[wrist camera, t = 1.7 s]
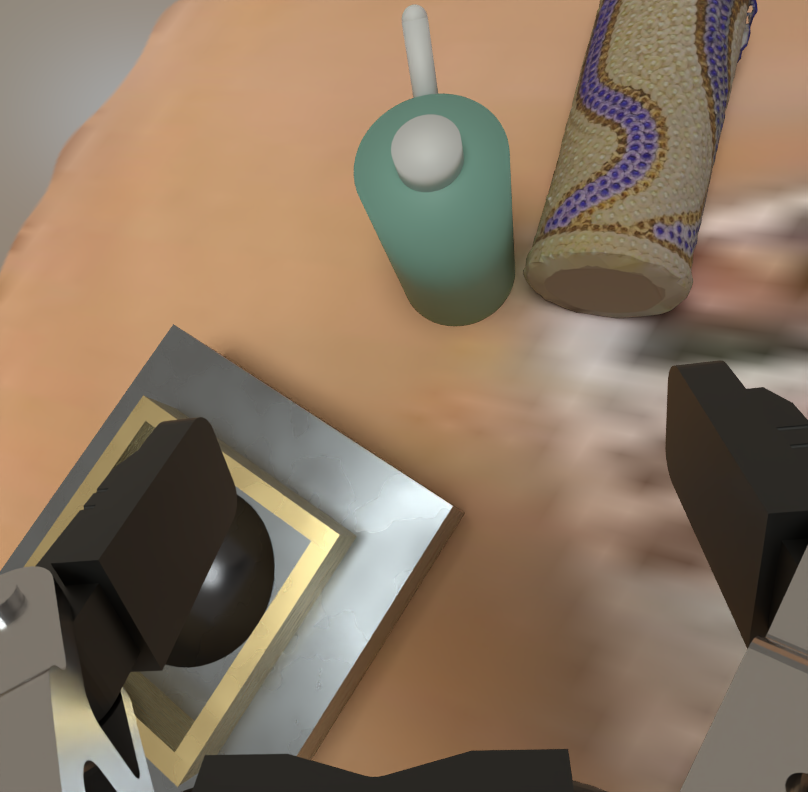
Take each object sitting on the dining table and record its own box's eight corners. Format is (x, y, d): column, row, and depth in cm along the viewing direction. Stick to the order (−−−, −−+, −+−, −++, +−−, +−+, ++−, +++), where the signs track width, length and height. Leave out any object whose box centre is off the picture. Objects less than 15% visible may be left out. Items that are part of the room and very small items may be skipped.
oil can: (520, 318, 32) (517, 192, 21) (406, 332, 33) (343, 220, 22) (503, 168, 34) (491, -20, 23) (396, 186, 35) (334, 15, 24)
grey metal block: (222, 355, 35) (142, 304, 27) (464, 512, 30) (445, 501, 23) (-6, 686, 33) (-156, 724, 25) (217, 909, 28) (111, 1033, 21)
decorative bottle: (672, 337, 30) (709, 281, 24) (520, 305, 32) (517, 246, 26) (773, -88, 35) (826, -230, 28) (634, -94, 37) (655, -228, 30)
